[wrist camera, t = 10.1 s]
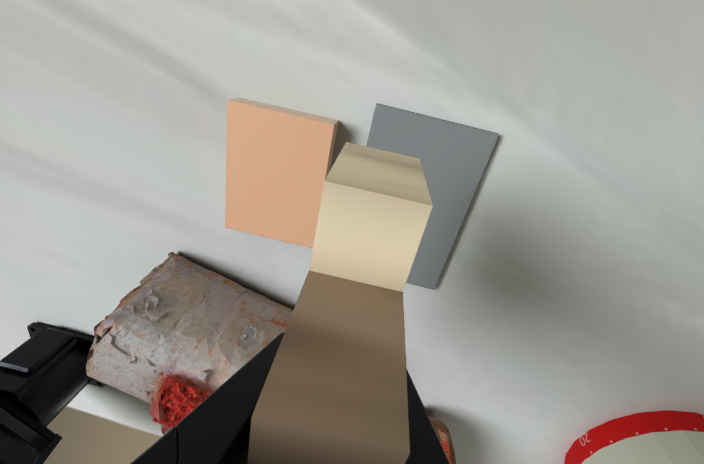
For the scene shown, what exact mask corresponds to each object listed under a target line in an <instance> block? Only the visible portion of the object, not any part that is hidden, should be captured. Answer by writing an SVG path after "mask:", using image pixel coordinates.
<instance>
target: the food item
mask: <svg viewBox="0 0 704 464" xmlns="http://www.w3.org/2000/svg"><path fill="white" fill-rule="evenodd" d="M168 256H169V258H168V259H167V260H166V261H164V262H163V264H161V265H159V266H158V267H155V268H154V269H153V270H152V271H151V272H150V273H149V274H148V275H147V276H146V277H145V278H143V279H142V280H141V281H140V283H141V284H140V286H138V287H136V288H135V289H133V290H132V291H130V292H129V293H128V294H127V295H126V296H125V297H124V298H123V299H122V300H121V301H120V304H119V305H118V307H117V308H116V309H115V310H114V311H113V312H112V313H111V314H110V315H108V316H106V317H105V320H103V321H101V322H100V323H99V324H97V325H96V326H95V327H94V333H95V339H94V341H93V344H92V346H91V349H90V350H89V353H88V358H87V365H86V373H87V376H89V377H91V378H94V379H96V380H98V381H100V382H102V383H104V384H108V385H110V386H112V387H114V388H116V389H118V390H120V391H123V392H125V393H127V394H130V395H132V396H134V397H137V398H139V399H141V400H143V401H145V402H147V403H149V404H151V407H150V414H151V416H153V417H154V418H153V421H155V422H158V423H160V424H162V428H161V431H162V433H163V435H165V434H166V433H167V432H168V431H169V430H171V429H172V428H173V427H174V426H176V427H177V424H178V423H179V422H180V421H181V420H182V419H183V418H184V417H186V416H187V415H188V414H189V413H190V412H191V411H192V410H194V409H195V408H196V407H197V406H198V405H199V404H200V403H202V402H203V401H204V400H205V399H206V398H207V397H208V396H209V395H211V394H212V393H213V392H214V391H215V390H216V389H217V388H219V387H220V386H221V385H222V384H223V383H224V382H225V381H227V380H228V379H229V378H230V377H231V376H232V375H233V374H235V373H236V372H237V371H238V370H239V369H240V368H241V367H243V366H244V365H245V364H246V363H247V362H248V361H249V360H251V359H252V358H253V357H254V356H255V355H256V354H257V353H258V352H260V351H261V350H262V349H263V348H264V347H265V346H266V345H268V344H269V343H270V342H271V341H272V340H273V339H274V338H276V337H277V336H278V335H279V334H280V333H282V332H285V331H286V328H287V325H288V323H289V320H290V318H291V315H292V313H293V309H290V308H288V307H286V306H284V305H281V304H279V303H276V302H274V301H272V300H270V299H269V298H267V297H265V296H263V295H260V294H258V293H256V292H254V291H252V290H250V289H247V288H244V287H243V286H241V285H239V284H238V283H236V282H234V281H232V280H230V279H228V278H226V277H224V276H222V275H220V274H218V273H216V272H214V271H211V270H208V269H206V268H204V267H202V266H200V265H198V264H195V263H193V262H191V261H190V260H188V259H186V258H184V257H182V256H181V255H178V254H175V253H173V252H171V253H169V254H168ZM98 326H99V327H98ZM97 328H98V329H97ZM96 329H97V330H96Z"/></svg>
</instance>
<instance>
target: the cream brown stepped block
mask: <svg viewBox="0 0 704 464" xmlns="http://www.w3.org/2000/svg"><path fill="white" fill-rule="evenodd" d="M432 207H433V205H432V201H431V198H430V194H429V191H428V187H427V183H426V180H425V176H424V173H423V169H422V165H421V162H420V159H418V158H414V157H410V156H405V155H401V154H397V153H392V152H388V151H383V150H379V149H375V148H370V147H366V146H362V145H357V144H353V143H349V142H346V143H345V145H344V147H343V148H342V150H341V152H340V154H339V156H338V157H337V159H336V161H335V163H334V165H333V166H332V168H331V170H330V172H329V174H328V175H327V177H326V179H325V181H324V186H323V192H322V198H321V204H320V209H319V215H318V221H317V227H316V233H315V239H314V245H313V251H312V257H311V263H310V268H309V272H308V275H307V277H306V280H305V282H304V285H303V287H302V290H301V292H300V295H299V298H298V300H297V303H296V305H295V308H294V310H293V313H292V315H291V318H290V320H289V323H288V325H287V328H286V331H285V333H284V336H283V338H282V341H281V343H280V346H279V348H278V351H277V353H276V356H275V358H274V361H273V364H272V366H271V369H270V371H269V374H268V376H267V379H266V381H265V384H264V386H263V389H262V392H261V394H260V397H259V399H258V402H257V404H256V407H255V409H254V412H253V414H252V418H251V429H250V440H249V451H248V462H247V464H405V462H406V460H407V458H408V456H409V454H410V441H409V419H408V397H407V375H406V353H405V331H404V309H403V290H404V287H405V284H406V281H407V278H408V275H409V273H410V270H411V267H412V264H413V261H414V258H415V255H416V253H417V250H418V247H419V244H420V241H421V238H422V235H423V232H424V230H425V227H426V224H427V221H428V218H429V215H430V212H431V210H432Z"/></svg>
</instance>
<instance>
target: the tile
mask: <svg viewBox="0 0 704 464" xmlns="http://www.w3.org/2000/svg"><path fill="white" fill-rule="evenodd" d="M338 121H339V120H335V119H330V118H326V117H322V116H317V115H313V114H308V113H304V112H300V111H295V110H291V109H286V108H282V107H277V106H273V105H269V104H264V103H260V102H255V101H251V100H247V99H242V98H237V99H232V100H228V110H227V164H226V218H225V228H230V229H234V230H238V231H242V232H246V233H251V234H255V235H259V236H263V237H268V238H272V239H276V240H280V241H285V242H289V243H293V244H297V245H302V246H306V247H310V248H313V245H314V239H315V233H316V227H317V221H318V215H319V209H320V204H321V198H322V192H323V186H324V181H325V179H326V177H327V175H328V174H329V172H330V168H331V162H332V156H333V150H334V145H335V139H336V133H337V127H338Z"/></svg>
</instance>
